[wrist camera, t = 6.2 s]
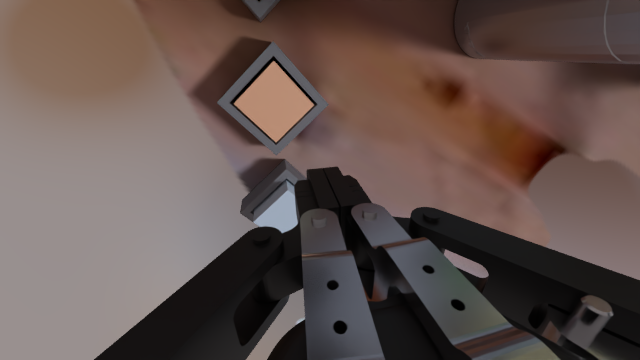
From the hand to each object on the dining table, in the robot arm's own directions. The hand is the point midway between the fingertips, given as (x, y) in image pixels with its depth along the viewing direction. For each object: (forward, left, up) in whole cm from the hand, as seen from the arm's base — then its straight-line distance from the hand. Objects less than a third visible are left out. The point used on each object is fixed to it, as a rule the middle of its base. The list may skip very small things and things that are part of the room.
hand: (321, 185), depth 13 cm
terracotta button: (0, -2, -18) cm, 18 cm away
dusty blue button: (+8, +7, -16) cm, 20 cm away
